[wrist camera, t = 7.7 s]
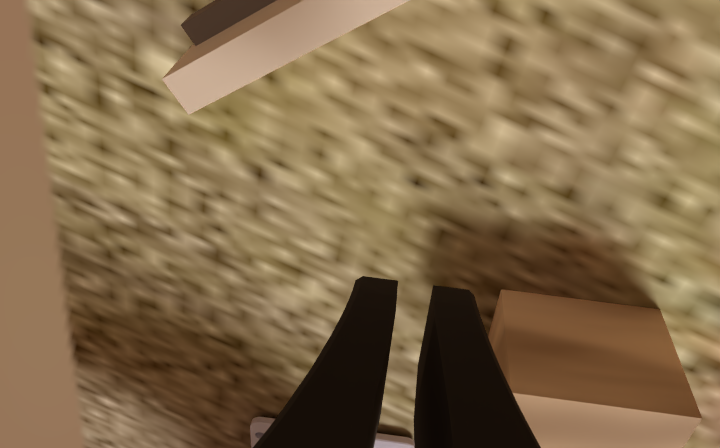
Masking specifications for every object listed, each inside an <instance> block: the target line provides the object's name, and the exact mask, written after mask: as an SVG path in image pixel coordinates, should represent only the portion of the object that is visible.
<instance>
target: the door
mask: <svg viewBox="0 0 720 448" xmlns="http://www.w3.org/2000/svg"><path fill="white" fill-rule="evenodd" d="M407 1H409V0H215V1H213V2H212V3H210V4H208V5H207V6H205V7H203V8H201V9H200V10H198V11H196V12H195V13H193V14H191V15H190V16H189V17H188V18H187V19H186V20H185V21H184V22H183V23H182V24H181V26H182V27H183V29H184V30H185V32H186V33H187V35H188V36H189V37H190V39H191V40H192V42H193V43H194V44H193V45H192V46H191V47H190V48H189V49H188V50H187V52H186V53H185V54H184V55H183V56H182V57H181V58H180V59H179V60H178V62H177V63H176V64H175V65H174V66H173V67H172V68H171V69H170V71H169V72H168V73H167V74H166V75H165V76H164V77H163V78H162V80H163V81H164V83H165V84H166V85H167V87H168V88H169V89H170V91H171V92H172V93H173V95H174V96H175V97H176V99H177V100H178V101H179V103H180V104H181V105H182V107H183V108H184V109H185V111H186V112H187V113H188V115H189V114H191V113H193V112H195V111H197V110H199V109H200V108H202V107H204V106H206V105H208V104H210V103H212V102H214V101H216V100H218V99H220V98H222V97H224V96H226V95H228V94H229V93H231V92H233V91H235V90H237V89H239V88H241V87H243V86H245V85H247V84H249V83H251V82H253V81H255V80H257V79H258V78H260V77H262V76H264V75H266V74H268V73H270V72H272V71H274V70H276V69H278V68H280V67H282V66H284V65H285V64H287V63H289V62H291V61H293V60H295V59H297V58H299V57H301V56H303V55H305V54H307V53H309V52H311V51H313V50H314V49H316V48H318V47H320V46H322V45H324V44H326V43H328V42H330V41H332V40H334V39H336V38H338V37H340V36H342V35H343V34H345V33H347V32H349V31H351V30H353V29H355V28H357V27H359V26H361V25H363V24H365V23H367V22H369V21H371V20H372V19H374V18H376V17H378V16H380V15H382V14H384V13H386V12H388V11H390V10H392V9H394V8H396V7H398V6H400V5H401V4H403V3H405V2H407Z"/></svg>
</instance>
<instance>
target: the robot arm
mask: <svg viewBox="0 0 720 448" xmlns="http://www.w3.org/2000/svg"><path fill="white" fill-rule="evenodd" d="M397 286H398V281H396V280H388V279H380V278H372V277H365V276H362V277H361V278H359V279H357V280H356V281H355V284H354V288H353V291H352V293H351V296H350V298H349V301H348V303H347V305H346V308H345V310H344V312H343V314H342V316H341V318H340V320H339V322H338V323H337V325H336V327H335V329H334V331H333V333H332V335H331V336H330V338H329V340H328V341H327V343H326V345H325V346H324V348H323V350H322V351H321V353H320V355H319V356H318V358H317V360H316V361H315V363H314V365H313V366H312V368H311V369H310V371H309V372H308V374H307V375H306V377H305V378H304V380H303V381H302V383H301V384H300V385H299V387H298V388H297V390H296V391H295V393H294V394H293V396H292V397H291V398H290V400H289V401H288V403H287V404H286V406H285V407H284V408H283V410H282V411H281V412H280V414H279V415H278V416H277V418H276V419H274V418H267V417H255V418H254V419H252V422H251V425H250V436H251V448H541V447H540V445H539V443H538V441H537V439H536V438H535V436H534V434H533V432H532V430H531V428H530V427H529V425H528V423H527V421H526V419H525V417H524V415H523V413H522V411H521V409H520V407H519V405H518V403H517V401H516V399H515V397H514V395H513V393H512V391H511V389H510V386H509V384H508V382H507V380H506V378H505V376H504V374H503V372H502V369H501V367H500V365H499V363H498V360H497V358H496V356H495V353H494V351H493V348H492V346H491V343H490V341H489V338H488V336H487V333H486V330H485V328H484V325H483V322H482V319H481V317H480V314H479V310H478V307H477V304H476V301H475V297H474V295H473V294H472V293H471V292H470V290H466V289H458V288H450V287H442V286H435V285H433V290H432V295H431V300H430V305H429V310H428V316H427V321H426V326H425V331H424V337H423V342H422V347H421V352H420V357H419V363H418V372H417V385H416V398H415V411H414V440H412V439H411V438H408V437H402V436H395V435H388V434H381V433H377V429H378V424H379V419H380V414H381V407H382V400H383V394H384V387H385V380H386V373H387V367H388V360H389V353H390V346H391V339H392V333H393V326H394V319H395V312H396V300H397Z"/></svg>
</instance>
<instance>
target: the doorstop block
mask: <svg viewBox="0 0 720 448" xmlns="http://www.w3.org/2000/svg"><path fill="white" fill-rule="evenodd" d="M488 338H489V341H490V343H491V346H492V348H493V351H494V353H495V356H496V358H497V360H498V363H499V365H500V367H501V369H502V372H503V374H504V376H505V378H506V380H507V382H508V384H509V386H510V389H511V391H512V393H513V395H514V397H515V399H516V401H517V403H518V405H519V407H520V409H521V411H522V413H523V415H524V417H525V419H526V421H527V423H528V425H529V427H530V428H531V430H532V432H533V434H534V436H535V438H536V439H537V441H538V443H539V445H540V447H541V448H683V447H684V446H685V444H686V443H687V441H688V439H689V438H690V436H691V435H692V433H693V432H694V430H695V429H696V427H697V426H698V424H699V423H700V421H701V419H702V417H701V414H700V412H699V409H698V407H697V404H696V401H695V399H694V396H693V394H692V391H691V389H690V386H689V383H688V381H687V378H686V376H685V373H684V370H683V368H682V365H681V363H680V360H679V357H678V355H677V352H676V350H675V347H674V345H673V342H672V339H671V337H670V334H669V332H668V329H667V326H666V324H665V321H664V319H663V316H662V314H661V311H660V309H653V308H646V307H638V306H630V305H622V304H614V303H606V302H598V301H590V300H582V299H575V298H567V297H559V296H551V295H543V294H535V293H527V292H519V291H511V290H504V289H501V291H500V295H499V299H498V302H497V306H496V309H495V313H494V317H493V320H492V324H491V327H490V331H489V335H488Z"/></svg>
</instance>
